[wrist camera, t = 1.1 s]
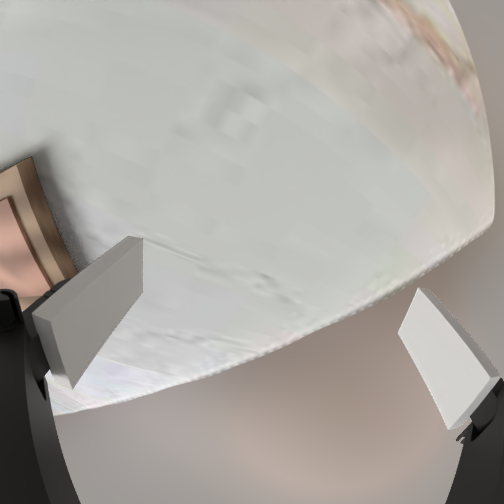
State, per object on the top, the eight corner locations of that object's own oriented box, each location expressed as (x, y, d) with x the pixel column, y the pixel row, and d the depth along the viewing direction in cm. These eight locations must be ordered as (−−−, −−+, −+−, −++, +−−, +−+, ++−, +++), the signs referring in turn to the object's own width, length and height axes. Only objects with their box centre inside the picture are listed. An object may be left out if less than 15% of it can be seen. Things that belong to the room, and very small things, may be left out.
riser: (-41, 198, 23) (-54, 208, 20) (31, 156, 23) (13, 166, 20) (9, 298, 34) (0, 312, 32) (89, 292, 34) (80, 310, 31)
